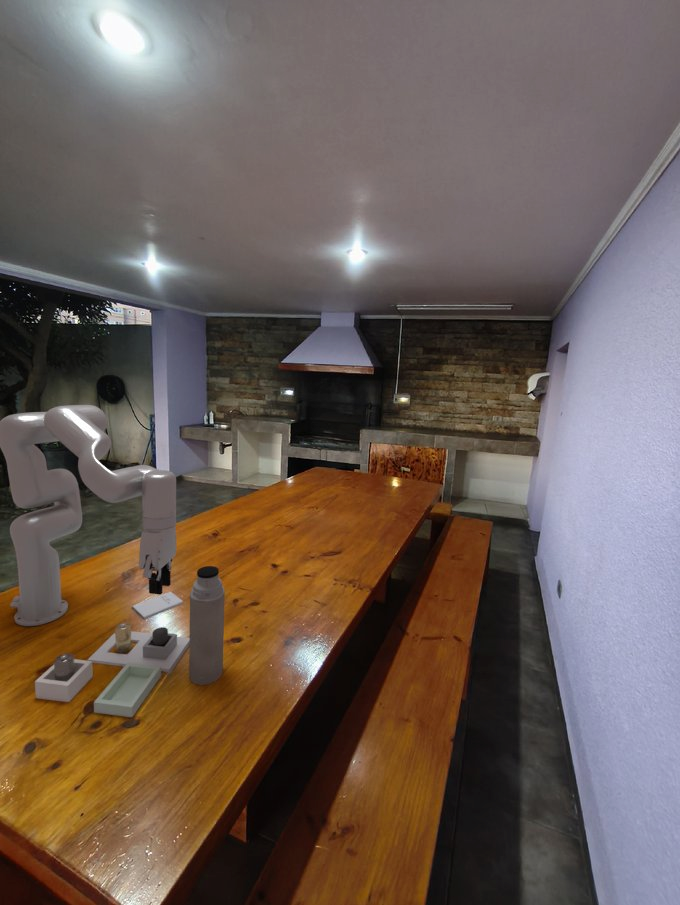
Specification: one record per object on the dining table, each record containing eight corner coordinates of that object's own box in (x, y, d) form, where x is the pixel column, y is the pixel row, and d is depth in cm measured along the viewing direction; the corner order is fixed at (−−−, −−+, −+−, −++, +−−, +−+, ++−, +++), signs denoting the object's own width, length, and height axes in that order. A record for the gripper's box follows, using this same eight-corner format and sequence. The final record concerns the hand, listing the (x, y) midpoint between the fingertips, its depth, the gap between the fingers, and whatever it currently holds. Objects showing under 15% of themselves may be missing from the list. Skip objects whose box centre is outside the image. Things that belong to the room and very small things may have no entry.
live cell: (112, 655, 102) (111, 627, 100) (121, 645, 105) (120, 619, 104) (126, 656, 101) (125, 629, 100) (134, 647, 105) (133, 620, 103)
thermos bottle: (195, 660, 102) (196, 561, 97) (226, 662, 102) (228, 563, 97) (184, 684, 94) (185, 577, 89) (217, 685, 94) (220, 579, 89)
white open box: (36, 701, 86) (34, 681, 85) (62, 675, 94) (61, 657, 93) (69, 705, 86) (68, 685, 85) (92, 679, 93) (92, 661, 92)
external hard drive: (131, 610, 122) (170, 595, 131) (143, 621, 117) (182, 605, 126) (131, 605, 121) (170, 590, 131) (143, 616, 116) (182, 600, 126)
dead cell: (51, 691, 88) (49, 660, 86) (63, 679, 91) (62, 649, 90) (67, 693, 88) (65, 662, 86) (78, 681, 91) (77, 651, 90)
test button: (149, 649, 101) (149, 635, 100) (157, 640, 104) (157, 626, 103) (163, 650, 100) (163, 636, 100) (170, 641, 104) (170, 628, 103)
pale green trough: (94, 715, 84) (93, 702, 83) (127, 674, 96) (127, 662, 95) (132, 720, 83) (131, 707, 83) (161, 678, 95) (161, 666, 95)
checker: (87, 664, 98) (87, 648, 97) (117, 634, 109) (117, 620, 109) (169, 674, 97) (169, 658, 96) (190, 642, 108) (190, 628, 108)
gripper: (162, 508, 104) (162, 572, 108) (124, 531, 88) (126, 605, 91) (189, 511, 104) (188, 575, 107) (156, 535, 88) (157, 609, 91)
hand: (159, 588), depth 99 cm, fingers open, 3 cm apart
